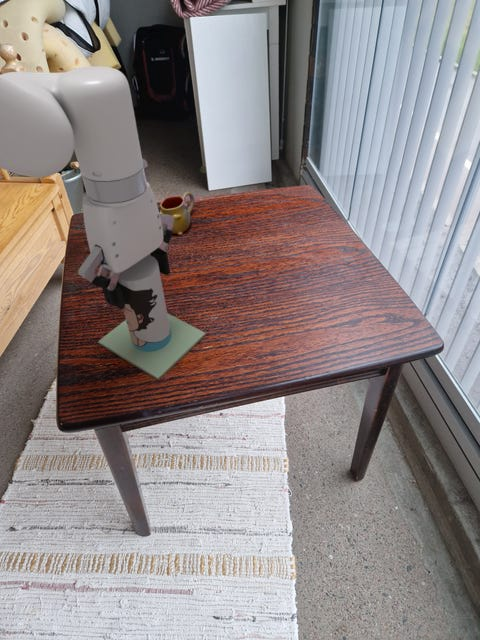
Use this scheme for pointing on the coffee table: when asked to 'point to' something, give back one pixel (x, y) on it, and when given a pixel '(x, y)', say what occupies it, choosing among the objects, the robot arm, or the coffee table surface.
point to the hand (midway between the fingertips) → (140, 287)
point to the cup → (145, 305)
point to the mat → (156, 360)
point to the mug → (178, 211)
